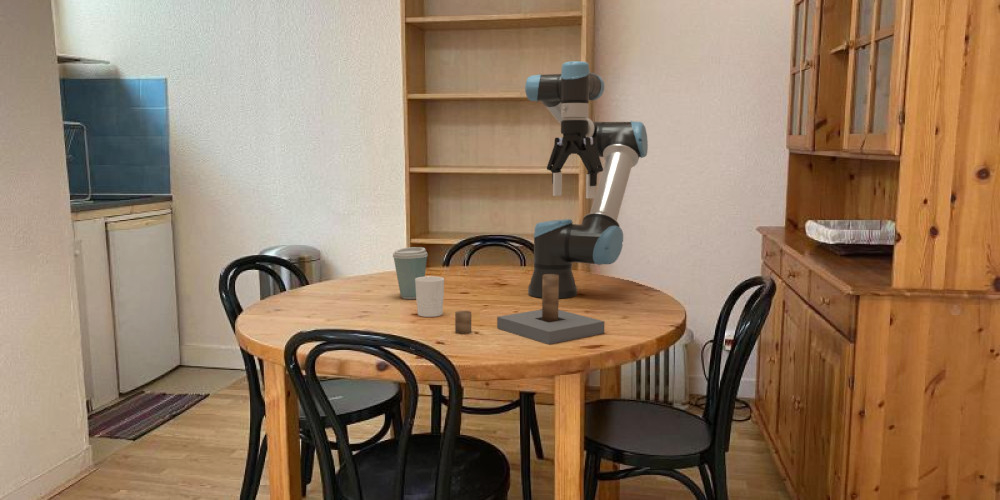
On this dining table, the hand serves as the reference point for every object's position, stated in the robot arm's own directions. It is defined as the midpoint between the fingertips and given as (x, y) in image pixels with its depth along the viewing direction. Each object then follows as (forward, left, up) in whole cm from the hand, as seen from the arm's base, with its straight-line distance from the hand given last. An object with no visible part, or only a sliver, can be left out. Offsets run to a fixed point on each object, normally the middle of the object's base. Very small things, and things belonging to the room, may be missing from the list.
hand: (573, 197), depth 213 cm
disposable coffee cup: (-42, -28, -32) cm, 60 cm away
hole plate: (+16, -22, -32) cm, 42 cm away
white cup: (-18, -36, -32) cm, 51 cm away
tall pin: (+16, -22, -32) cm, 42 cm away
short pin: (+4, -40, -32) cm, 51 cm away
